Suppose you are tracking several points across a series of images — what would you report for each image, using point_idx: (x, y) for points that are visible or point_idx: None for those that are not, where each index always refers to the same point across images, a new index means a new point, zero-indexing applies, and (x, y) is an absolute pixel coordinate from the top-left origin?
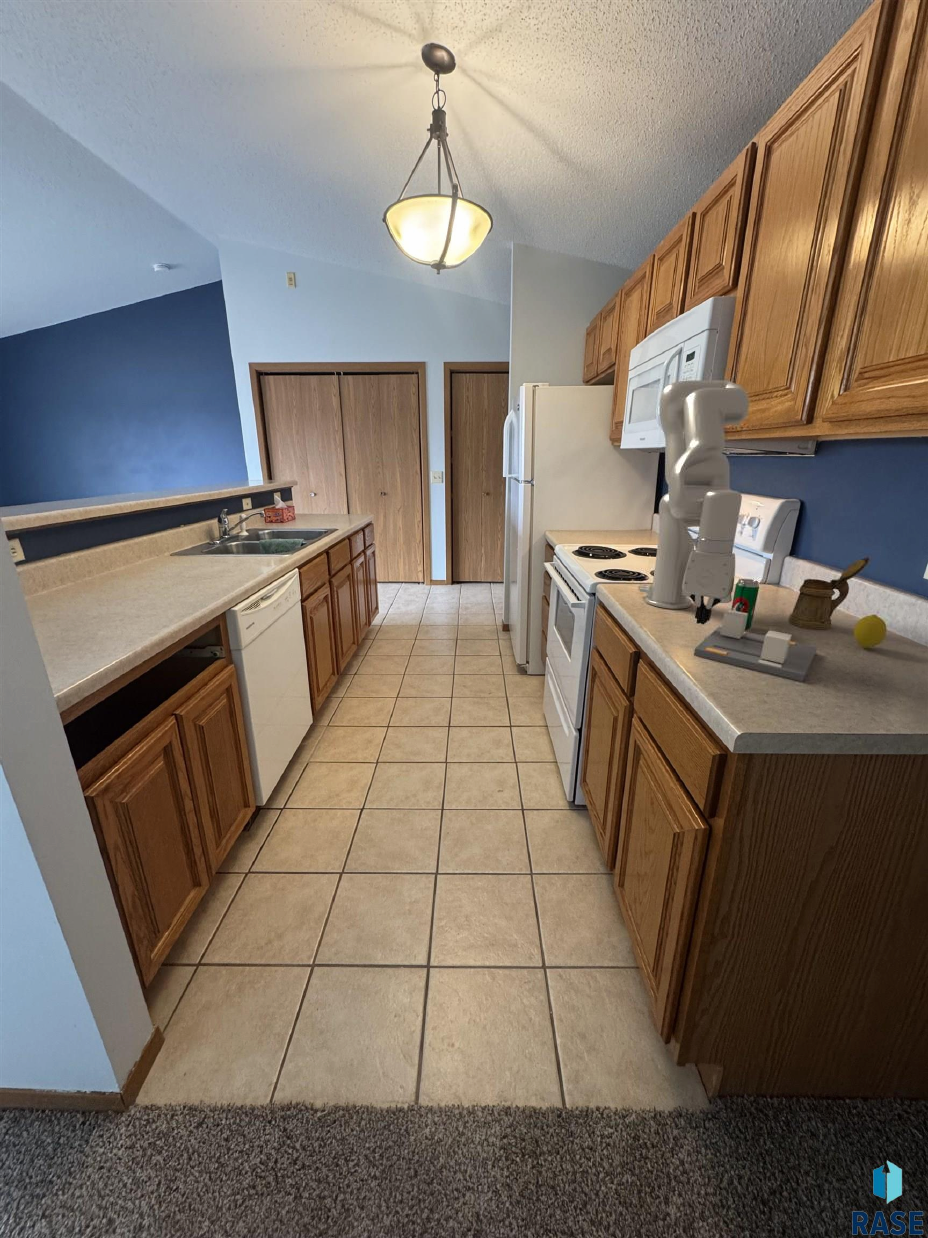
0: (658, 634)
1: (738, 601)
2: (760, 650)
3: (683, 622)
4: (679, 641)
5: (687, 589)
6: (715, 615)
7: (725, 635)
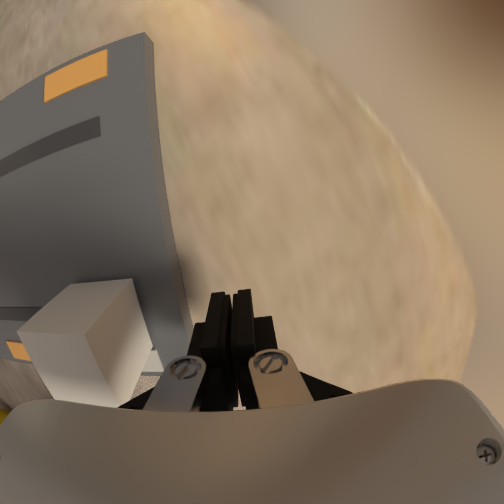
0: (370, 160)
1: None
2: (5, 228)
3: (339, 368)
4: (264, 137)
5: (427, 402)
6: None
7: (113, 280)
